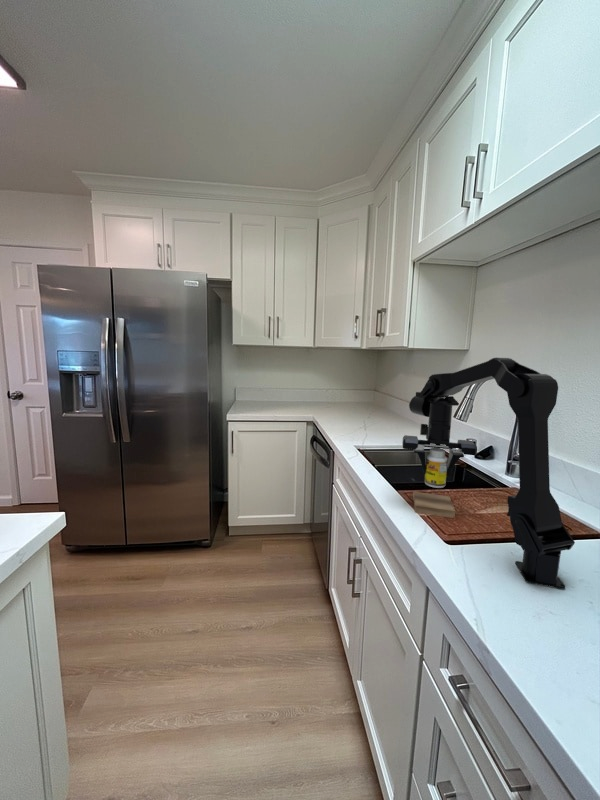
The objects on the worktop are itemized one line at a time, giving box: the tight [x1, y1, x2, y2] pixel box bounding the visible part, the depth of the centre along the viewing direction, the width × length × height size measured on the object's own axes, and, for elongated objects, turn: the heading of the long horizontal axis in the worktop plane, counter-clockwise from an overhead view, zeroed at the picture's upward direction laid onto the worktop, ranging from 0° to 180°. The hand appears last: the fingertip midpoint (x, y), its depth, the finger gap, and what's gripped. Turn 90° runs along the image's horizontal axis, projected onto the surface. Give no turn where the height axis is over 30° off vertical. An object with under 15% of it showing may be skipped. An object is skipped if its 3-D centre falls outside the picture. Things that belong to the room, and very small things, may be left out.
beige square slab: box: [412, 491, 456, 519], centre depth 95 cm, size 10×10×2 cm
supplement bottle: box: [424, 447, 449, 489], centre depth 94 cm, size 6×6×10 cm
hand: (435, 474), depth 94 cm, fingers closed on supplement bottle, 6 cm apart
